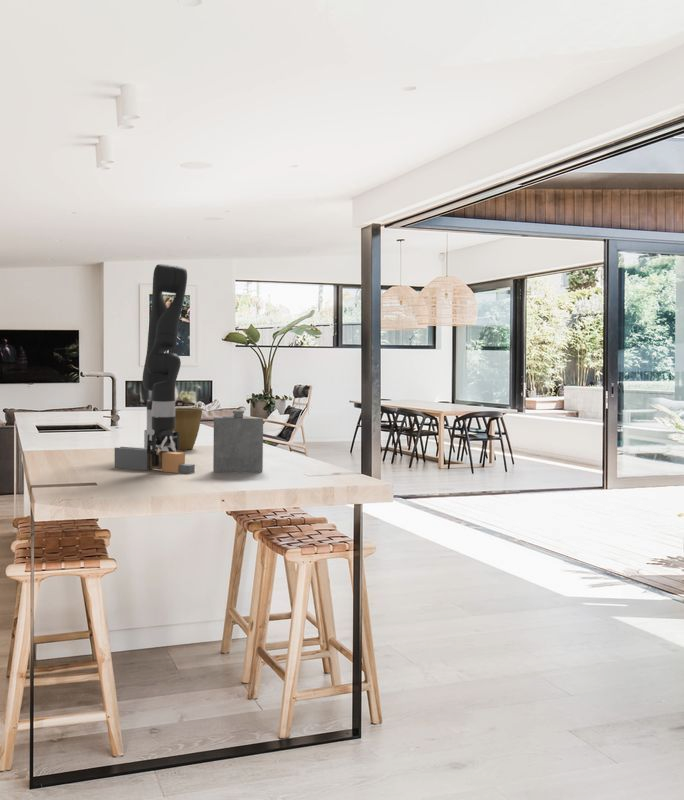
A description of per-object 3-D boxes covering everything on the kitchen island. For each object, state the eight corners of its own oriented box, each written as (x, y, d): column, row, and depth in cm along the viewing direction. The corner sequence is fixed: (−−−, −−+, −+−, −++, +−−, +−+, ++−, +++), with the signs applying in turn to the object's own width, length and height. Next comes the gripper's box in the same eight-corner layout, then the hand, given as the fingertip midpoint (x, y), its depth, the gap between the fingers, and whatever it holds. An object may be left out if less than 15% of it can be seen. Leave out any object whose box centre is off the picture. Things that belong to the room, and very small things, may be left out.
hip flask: (262, 471, 281) (263, 410, 280) (262, 472, 277) (263, 411, 276) (213, 470, 280) (214, 409, 279) (212, 472, 276) (213, 410, 275)
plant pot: (208, 448, 343) (209, 408, 342) (189, 452, 329) (189, 410, 328) (176, 446, 348) (177, 406, 348) (156, 449, 335) (156, 408, 334)
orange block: (161, 471, 275) (162, 452, 275) (169, 469, 279) (169, 451, 279) (177, 472, 273) (177, 454, 273) (184, 471, 277) (184, 452, 276)
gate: (129, 467, 282) (129, 448, 282) (131, 466, 284) (131, 448, 283) (164, 470, 277) (164, 451, 277) (166, 469, 278) (166, 451, 278)
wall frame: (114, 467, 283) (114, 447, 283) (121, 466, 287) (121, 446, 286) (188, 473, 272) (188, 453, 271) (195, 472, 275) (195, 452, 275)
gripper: (166, 413, 285) (166, 461, 286) (140, 415, 272) (140, 466, 273) (185, 414, 282) (185, 463, 283) (160, 417, 269) (159, 468, 270)
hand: (163, 464), depth 278 cm, fingers open, 8 cm apart
